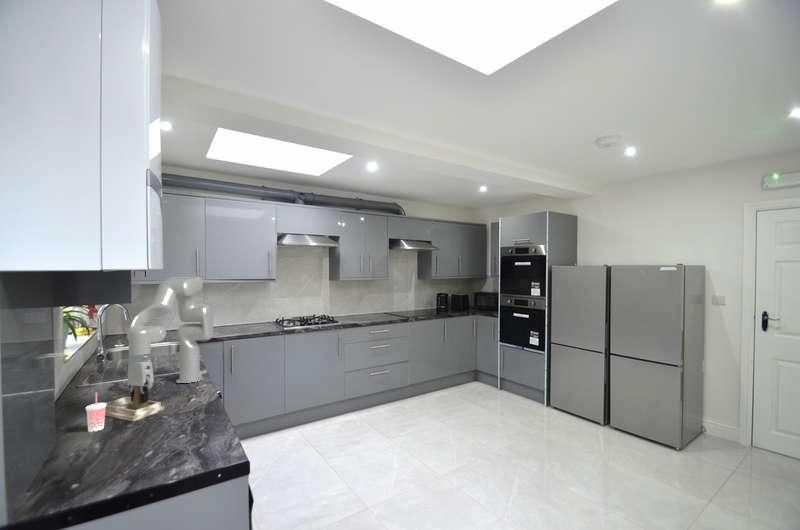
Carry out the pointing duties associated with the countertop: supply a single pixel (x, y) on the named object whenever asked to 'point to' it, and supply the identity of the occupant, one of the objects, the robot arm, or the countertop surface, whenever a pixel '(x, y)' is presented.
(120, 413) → the spice holder
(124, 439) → the countertop surface
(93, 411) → the beverage cup
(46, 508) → the countertop surface
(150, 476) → the countertop surface
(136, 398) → the cork
